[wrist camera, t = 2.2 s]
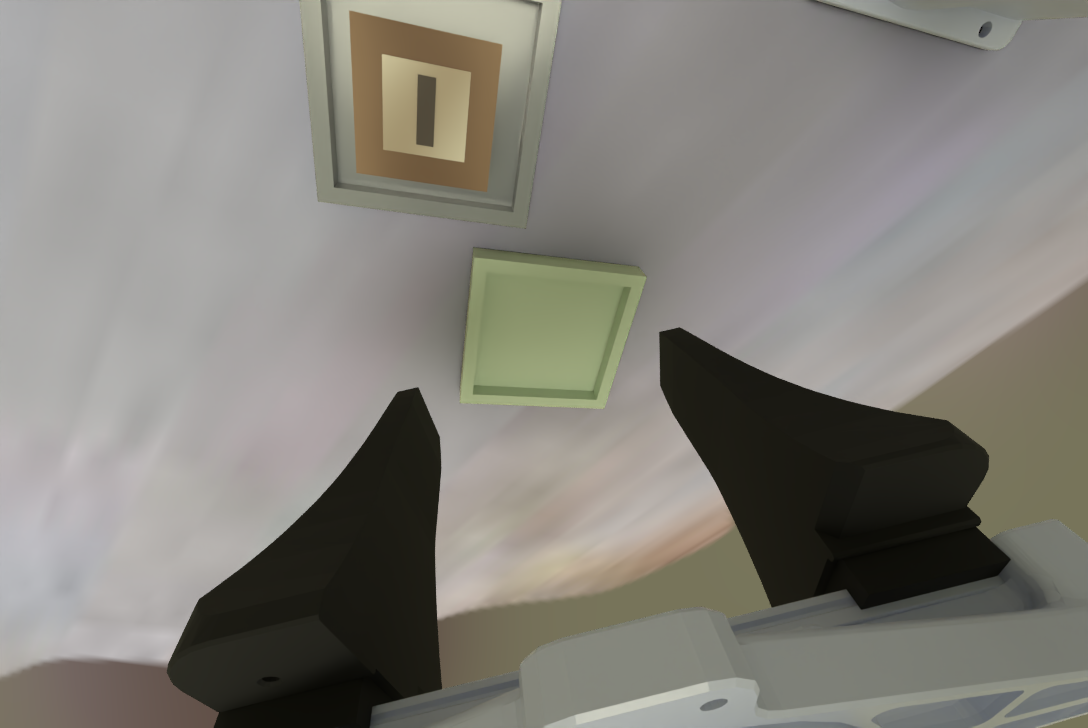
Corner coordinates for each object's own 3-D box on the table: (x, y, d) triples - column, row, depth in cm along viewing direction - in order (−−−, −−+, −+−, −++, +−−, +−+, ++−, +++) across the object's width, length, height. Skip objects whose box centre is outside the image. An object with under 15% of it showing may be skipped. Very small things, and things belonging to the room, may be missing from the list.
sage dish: (638, 266, 22) (646, 276, 21) (598, 395, 26) (604, 408, 25) (473, 247, 20) (474, 257, 19) (459, 389, 24) (459, 402, 24)
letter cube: (493, 45, 16) (502, 44, 12) (481, 166, 18) (487, 193, 15) (372, 18, 15) (348, 10, 12) (375, 149, 17) (355, 173, 14)
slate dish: (557, -12, 16) (564, -16, 15) (522, 219, 20) (525, 228, 19) (303, -78, 14) (291, -88, 13) (325, 193, 18) (318, 201, 17)
